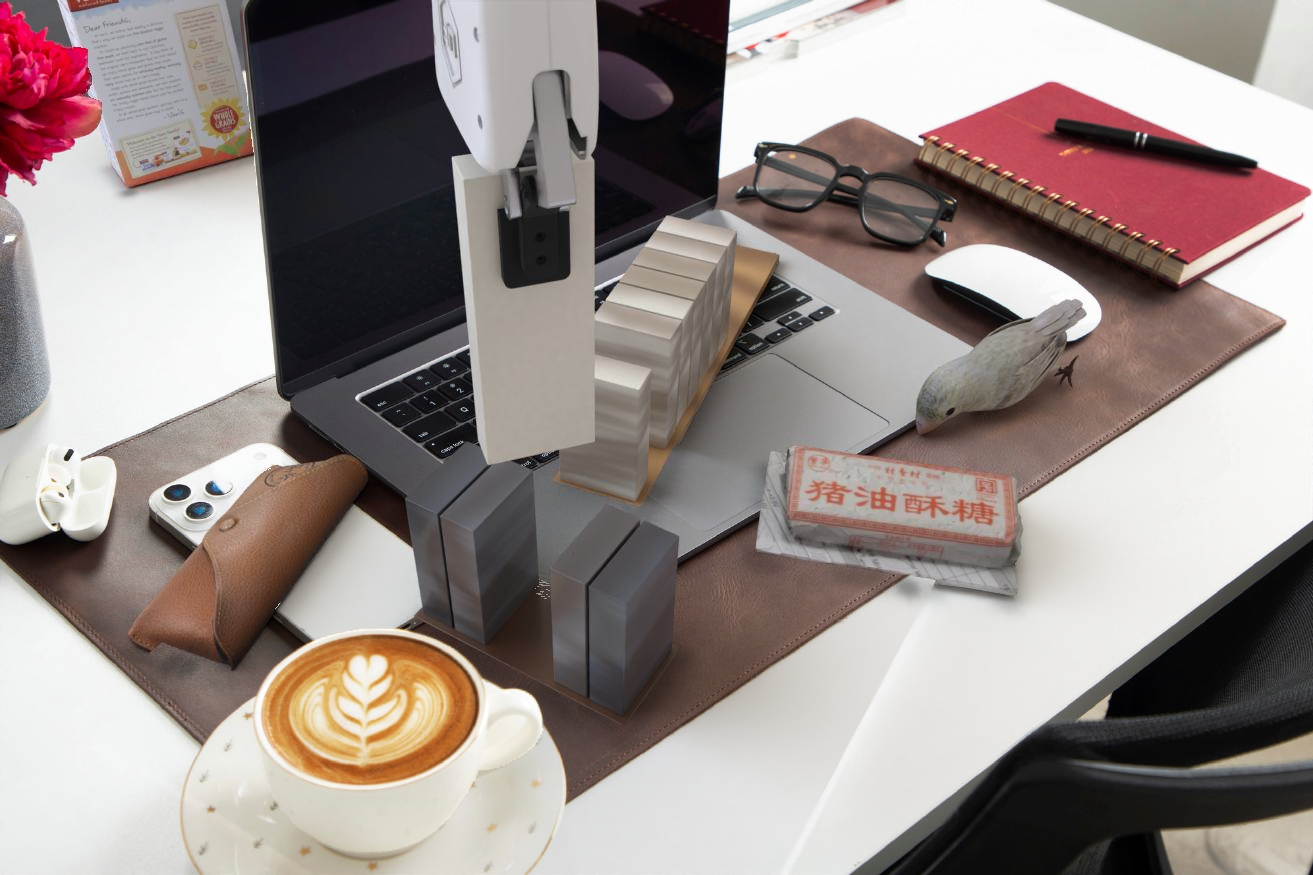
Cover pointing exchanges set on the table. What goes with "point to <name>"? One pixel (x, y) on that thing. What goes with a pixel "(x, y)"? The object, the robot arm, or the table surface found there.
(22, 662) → the table surface
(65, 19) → the cracker box
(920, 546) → the packaged product
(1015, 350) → the decorative bird
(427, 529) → the grey book rack
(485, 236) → the cream book
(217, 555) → the sunglasses case
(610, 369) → the cream book rack
